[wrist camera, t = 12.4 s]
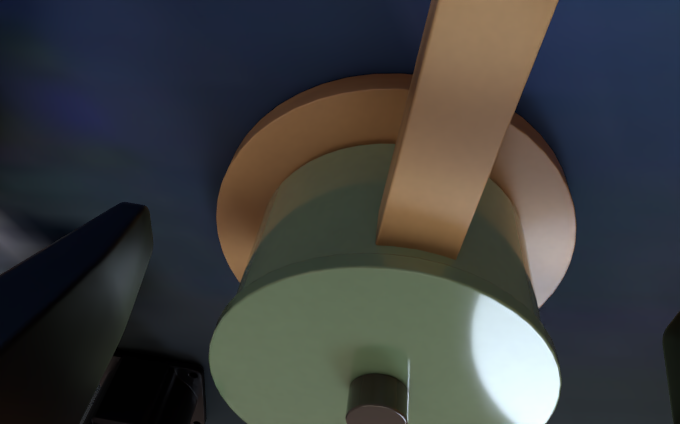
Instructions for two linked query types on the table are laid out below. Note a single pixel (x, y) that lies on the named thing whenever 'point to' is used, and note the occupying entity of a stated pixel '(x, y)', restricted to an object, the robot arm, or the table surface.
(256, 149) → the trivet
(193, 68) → the table surface
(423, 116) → the pot
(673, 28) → the table surface
